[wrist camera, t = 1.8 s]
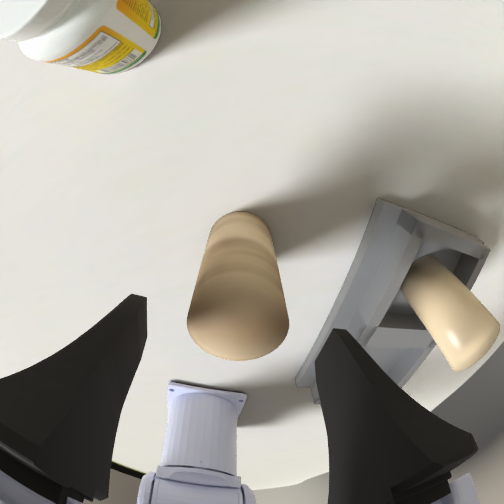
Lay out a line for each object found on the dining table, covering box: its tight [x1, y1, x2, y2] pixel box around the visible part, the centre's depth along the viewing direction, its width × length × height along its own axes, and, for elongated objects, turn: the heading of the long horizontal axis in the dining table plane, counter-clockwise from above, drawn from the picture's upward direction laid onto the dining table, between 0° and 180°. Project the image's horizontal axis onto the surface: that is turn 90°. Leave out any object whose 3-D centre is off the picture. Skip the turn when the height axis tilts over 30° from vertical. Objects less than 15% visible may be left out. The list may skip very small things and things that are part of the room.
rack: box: [295, 198, 500, 404], centre depth 17 cm, size 18×12×9 cm, turn 167°
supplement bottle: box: [0, 0, 161, 75], centre depth 7 cm, size 5×5×10 cm
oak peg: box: [187, 212, 289, 361], centre depth 14 cm, size 4×4×8 cm
